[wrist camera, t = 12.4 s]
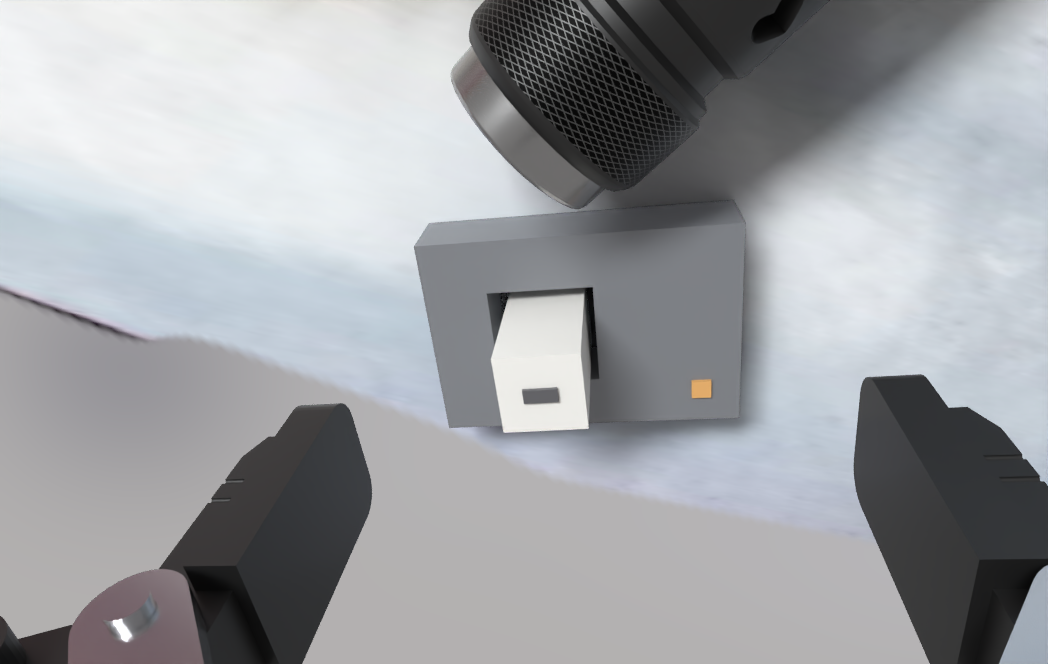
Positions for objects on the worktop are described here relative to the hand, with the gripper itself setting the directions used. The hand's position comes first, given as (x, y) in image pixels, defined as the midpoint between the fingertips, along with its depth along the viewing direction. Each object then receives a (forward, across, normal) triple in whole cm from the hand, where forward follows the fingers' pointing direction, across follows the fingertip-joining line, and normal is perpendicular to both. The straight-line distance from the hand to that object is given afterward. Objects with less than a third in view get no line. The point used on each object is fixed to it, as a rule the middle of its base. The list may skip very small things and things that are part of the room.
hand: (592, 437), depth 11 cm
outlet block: (+27, +2, +10) cm, 29 cm away
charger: (+27, +4, +10) cm, 29 cm away
